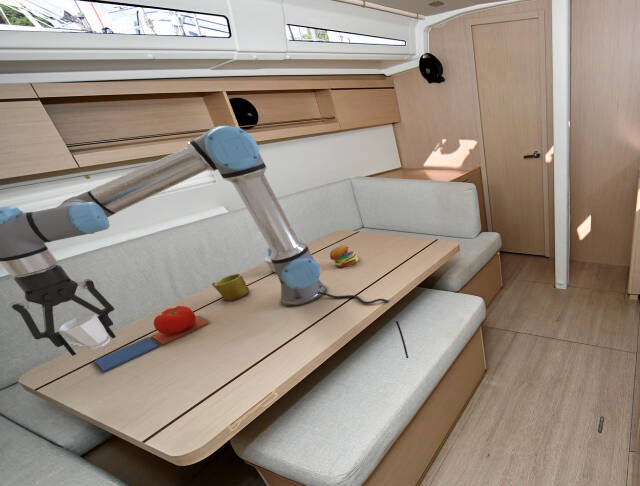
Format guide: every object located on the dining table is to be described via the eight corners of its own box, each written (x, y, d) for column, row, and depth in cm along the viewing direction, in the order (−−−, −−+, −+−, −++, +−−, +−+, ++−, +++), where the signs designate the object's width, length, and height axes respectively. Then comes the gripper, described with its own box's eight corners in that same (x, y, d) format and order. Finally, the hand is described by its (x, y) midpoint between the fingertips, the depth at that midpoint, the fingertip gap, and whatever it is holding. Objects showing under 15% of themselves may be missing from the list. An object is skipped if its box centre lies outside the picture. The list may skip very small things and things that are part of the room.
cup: (104, 349, 93) (81, 327, 89) (62, 359, 92) (36, 337, 88) (123, 332, 99) (102, 310, 95) (84, 340, 98) (60, 319, 93)
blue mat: (158, 346, 116) (158, 345, 116) (104, 372, 106) (103, 370, 106) (148, 338, 121) (147, 337, 121) (95, 362, 111) (94, 360, 111)
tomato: (178, 338, 118) (167, 320, 115) (152, 337, 120) (141, 319, 117) (207, 320, 128) (198, 302, 124) (183, 319, 130) (173, 302, 126)
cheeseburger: (356, 266, 162) (345, 247, 157) (335, 273, 162) (323, 255, 158) (361, 256, 171) (351, 239, 166) (341, 264, 171) (330, 246, 167)
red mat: (208, 323, 126) (207, 322, 126) (162, 345, 117) (161, 343, 116) (196, 317, 131) (196, 315, 131) (152, 337, 122) (151, 335, 121)
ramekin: (274, 277, 158) (269, 263, 155) (266, 269, 167) (260, 256, 164) (305, 266, 167) (300, 252, 164) (296, 259, 175) (291, 246, 172)
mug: (259, 285, 147) (239, 268, 141) (240, 304, 140) (218, 287, 134) (242, 287, 153) (222, 271, 147) (223, 305, 146) (202, 289, 140)
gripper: (90, 252, 95) (137, 321, 105) (-34, 286, 80) (34, 364, 90) (98, 256, 91) (145, 327, 101) (-31, 293, 76) (41, 373, 86)
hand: (93, 344), depth 95 cm, fingers closed on cup, 7 cm apart
